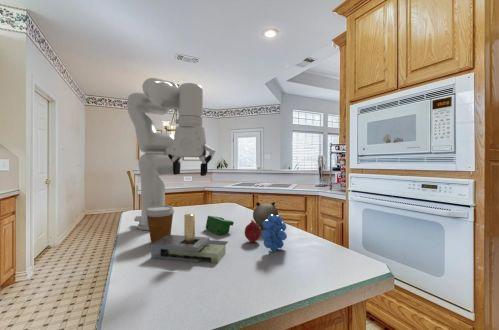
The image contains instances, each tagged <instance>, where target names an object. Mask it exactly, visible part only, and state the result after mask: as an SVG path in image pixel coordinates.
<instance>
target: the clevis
mask: <svg viewBox="0 0 499 330" xmlns="http://www.w3.org/2000/svg"><path fill="white" fill-rule="evenodd" d="M210 240H211V237H207V236H206V237H205V236H195V244H185V235H179V234H178V235H177V234H171V235H166V236H164V237H162V238H161V239H159V240H157V241H155V242H154V243H152V244H151V243H150V254H151V255H150V257H151V258H150V259H152V260H160V261H161V260H162V261H172V262H179V263H181V262H183V263H193V264H199V263H200V262H201V261H202V259H204V258H210V263H211V264H219V263H220V261H221V260H222V259H223V258H224V256H225V255H226V245H227V244H226V245H214V244H207V243H208V242H210Z"/></svg>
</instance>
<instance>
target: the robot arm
mask: <svg viewBox="0 0 499 330" xmlns="http://www.w3.org/2000/svg"><path fill="white" fill-rule="evenodd" d="M141 88H142V91H143V93H142V92H133V93H131V94H129V95H128V96H127V99H126V100H127V101H126V107H127V112H128V116H129V118H130V120H131V122H132V124H133V127H134V129H135V135H136V141H137V146H138V149H139V150H140V151H141V152H142V153H144V154H142V155H140V157H138V158H139V159H138V160H137V161H138V163H137V164H138V165H137V166H138V170H139V176H140V196H141V198H140V201H141V203H140V206H141V207H140V210H141V212H140V214H141V216H140V215H136V216H135V217H134V219H133V221H134V222H138V224H137V225H136V226H137V229H138V230H140V231H149V225H148V218H147V215H146V212H147V209H148V208H150V207H154V206H166V194H165V193H166V192H165V191H166V187H165V183H164V182H163V180H162V179H161V177H160V176H170V175H175V176H176V175H180V173H181V168H182V167H181V166H182V163H181V162H182V161H181V159H182V158H198V160H200V161H201V164H200V177H204V176H207V173H208V165H209V163H210V161H211V160H213V158H214V155H215V154H216V152H217V151H216V149H214V148H212V147H211V146H209V145H208V144H207V139H206V131H205V127H204V126H203V108H204V107H203V104H204V103H203V101H204V100H203V97H204V96H203V95H204V93H203V92H204V91H203V87H202V86H201V85H200V84H198V83H193V82H185V83H184V82H183V83H181V84H180V86H178V85H177V84H176V83H175V82H174V81H169V80H165V79H162V78H156V77H149V78H146V79H145V80H144V81H143V83H142V87H141ZM171 109H172V110H178V117H177V118H178V119H175V120H174V122H175V124H177V125H178V126H176V127H175V130H174V135H172V134H171V133H168V132H166V133H165V132H158V131H157V130H156V125H155V122H153V120H152V119H151V117H150V116H148V115H147V114H151V115H152V114H154V115H159V116H160V115H166V114H168V112H169V111H170V110H171ZM207 152H209V153H208V155H207ZM206 155H207V156H206Z"/></svg>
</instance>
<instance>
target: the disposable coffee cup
mask: <svg viewBox="0 0 499 330" xmlns="http://www.w3.org/2000/svg"><path fill="white" fill-rule="evenodd" d="M174 213H175V209H174V206H172V205H171V206H170V205H165V206H154V207H150V208H148V209H147V212H146V215H147V218H148V225H149V230H148V231H149V238H150V245H151V244H152V243H154V242H155V241H157V240H159V239H161V238H162V237H164V236H166V235H172V234H171V233H172V225H173V218H174Z"/></svg>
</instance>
